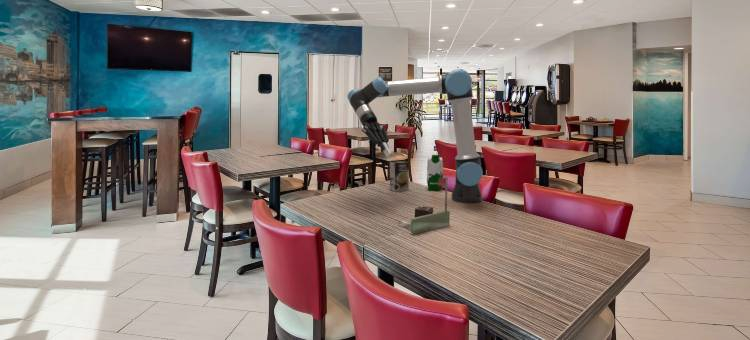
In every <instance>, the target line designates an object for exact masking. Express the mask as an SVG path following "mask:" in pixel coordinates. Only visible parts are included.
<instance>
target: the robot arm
mask: <svg viewBox="0 0 750 340" xmlns="http://www.w3.org/2000/svg"><path fill="white" fill-rule="evenodd" d="M472 85H473V78H472V77H471V75H470V73H469V72H468V71H466V70H464V69H460V68H457V69H454V70H451V71H450V72H449V73H444V74H440V75H439V76H435V77H425V78H423V77H422V78H421V77H420V78H411V79H400V80H390V81H389V80H386V81H385V80H384V79H383V78H382V77H381V76H378V77H376V78H374V79H373V80H372V81H370V82H369V83H368V84H366V85H365V86H364V87H363V88H361V89H359V88H354V89H351V90H349V92H348V93H347V99H348V102H349V104H350V106H351V107H352V109H353V111H354V112H355V115H356V116H357V118H358V120H359V121H360V123H361V125H362V126H363V127H362V129H361V132H363V133H364V134H365V135H366V136H367V138H368V139H369V141H371V143H372V144H373V145H374V146H376V145H377V146H376V147H377V148H380V150H381V151H382V152H383V153H384V155H385V158H390V156H392V151H391V149H390V146H389V144H388V142H389V141H390V139H389V136H388V133H387V130H386V125H384V124H383V125H381V124H380V122H378V118H377V116H376V114H375V112H374V111H373V108H372V107H371V106H370V103H372V101H373V102H374V100H375V99H377V98H384V97H385V98H386V97H397V96H409V95H422V94H424V95H425V94H437V93H438V94H441V95H446V98H447V102H448V103H450V104H451V111H452V120H453V127H454V137H455V142H456V151H457V152H456V153H457V155H456V156H455V158H454V161H455V185H454V188H453V190H452V193H451V200H453V201H454V202H458V203H466V202H473V203H478V202H477V201H479V202H481V201H482V200H483V199H482V198H483V197H482V196H483V195H482V191H481V187H480V185H479V183H480V181H481V180H482V179H483V175H484V171H483V168H482V163H481V155H480V154H479V153H478V152H477V150H476V142H475V141H476V140H475V133H474V132H475V131H474V124H473V117H472V107H471V101H472V100H473V97H474V95H473V86H472Z"/></svg>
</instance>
